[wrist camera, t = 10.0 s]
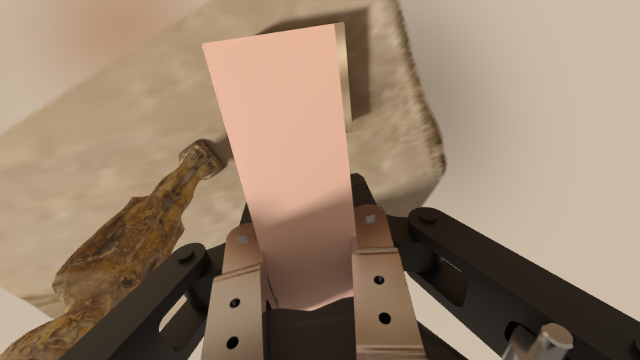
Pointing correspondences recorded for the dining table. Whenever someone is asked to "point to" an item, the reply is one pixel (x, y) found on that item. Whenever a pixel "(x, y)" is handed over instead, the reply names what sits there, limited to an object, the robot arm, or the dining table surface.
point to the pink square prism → (291, 157)
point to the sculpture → (117, 258)
